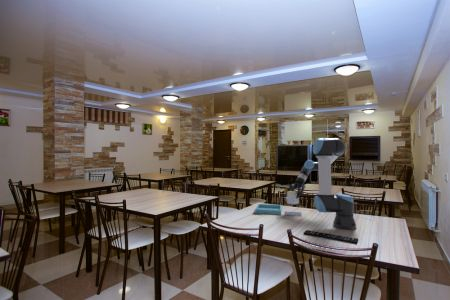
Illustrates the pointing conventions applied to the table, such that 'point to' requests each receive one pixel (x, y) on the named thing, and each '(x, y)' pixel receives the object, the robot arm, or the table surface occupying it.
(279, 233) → the table surface
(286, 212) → the dock mat
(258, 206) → the tray
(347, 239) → the black keyboard
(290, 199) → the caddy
